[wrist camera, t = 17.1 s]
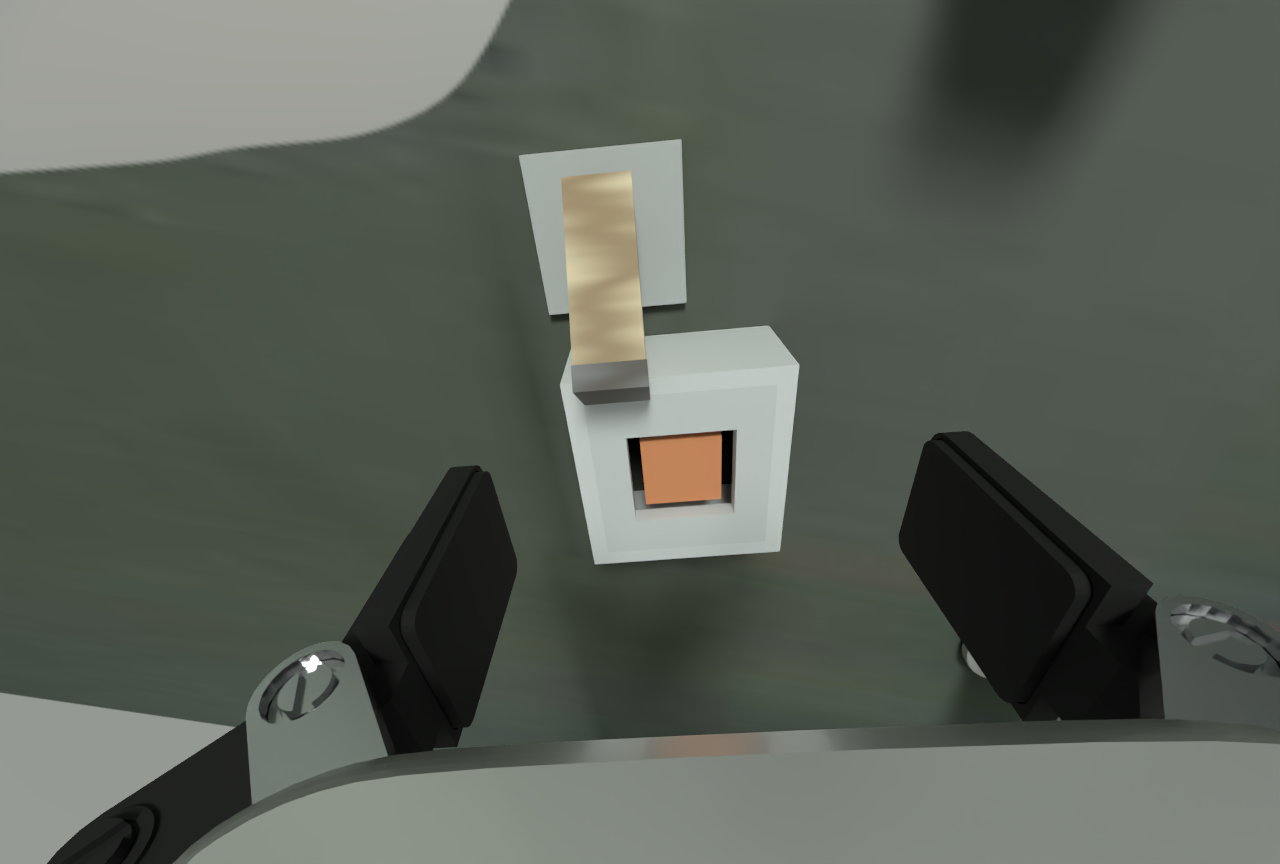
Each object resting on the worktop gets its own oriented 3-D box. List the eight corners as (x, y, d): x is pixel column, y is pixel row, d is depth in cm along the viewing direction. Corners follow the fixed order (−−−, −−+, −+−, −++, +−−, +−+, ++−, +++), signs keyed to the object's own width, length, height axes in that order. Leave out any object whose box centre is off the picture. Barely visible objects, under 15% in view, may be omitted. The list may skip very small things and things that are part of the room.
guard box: (768, 325, 28) (799, 364, 23) (757, 492, 35) (779, 551, 30) (572, 342, 28) (559, 384, 23) (600, 504, 35) (594, 564, 30)
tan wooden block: (632, 169, 21) (649, 386, 20) (635, 212, 24) (650, 400, 23) (559, 176, 21) (572, 392, 20) (573, 217, 24) (584, 405, 23)
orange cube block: (709, 394, 30) (721, 435, 26) (709, 452, 32) (721, 498, 28) (638, 400, 30) (639, 441, 26) (644, 457, 32) (646, 504, 28)
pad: (680, 139, 23) (681, 139, 22) (685, 300, 27) (686, 302, 26) (521, 155, 23) (518, 155, 23) (550, 311, 27) (549, 315, 27)
